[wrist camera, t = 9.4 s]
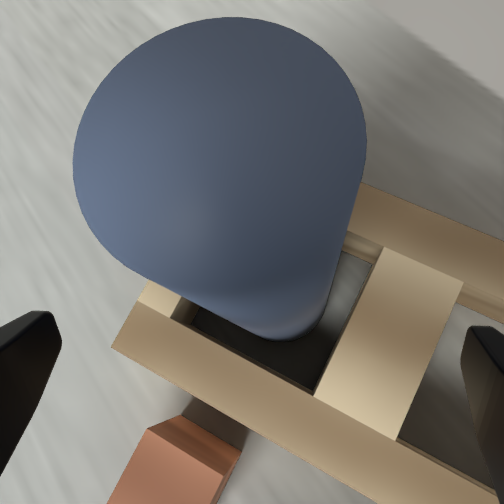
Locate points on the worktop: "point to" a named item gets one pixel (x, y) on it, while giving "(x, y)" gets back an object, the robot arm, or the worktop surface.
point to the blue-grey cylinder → (226, 169)
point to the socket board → (333, 374)
